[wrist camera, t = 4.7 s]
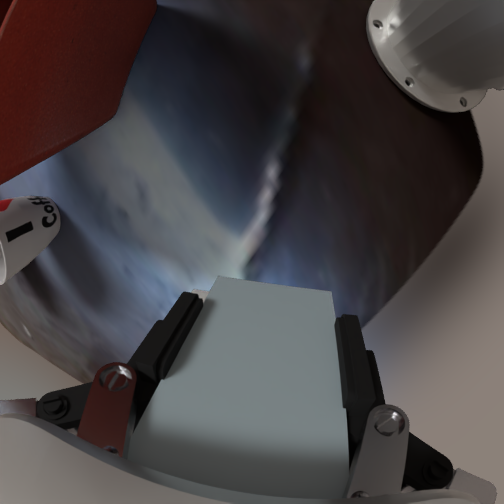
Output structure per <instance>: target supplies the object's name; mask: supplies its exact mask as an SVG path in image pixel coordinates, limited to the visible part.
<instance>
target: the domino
mask: <svg viewBox="0 0 504 504" xmlns="http://www.w3.org/2000/svg"><path fill="white" fill-rule="evenodd" d="M335 321H336V319H335V312H334V306H333V300H332V294H331V292H330V291H322V290H314V289H306V288H299V287H291V286H284V285H276V284H269V283H262V282H255V281H248V280H241V279H234V278H228V277H221V276H218V277H217V279H216V281H215V283H214V285H213V286H212V288H211V290H210V292H209V293H208V295H207V297H206V299H205V301H204V302H203V308H202V310H201V312H200V314H199V315H198V317H197V319H196V321H195V323H194V325H193V327H192V328H191V330H190V332H189V334H188V336H187V338H186V340H185V342H184V343H183V345H182V347H181V349H180V351H179V353H178V355H177V357H176V358H175V360H174V362H173V364H172V366H171V368H170V370H169V372H168V374H167V376H166V377H165V379H164V380H163V379H161V381H160V383H159V385H158V387H157V389H156V391H155V393H154V394H153V396H152V398H151V400H150V402H149V404H148V406H147V408H146V410H145V411H144V413H143V415H142V417H141V419H140V421H139V423H138V425H137V427H136V429H135V431H134V433H133V434H132V436H131V438H130V445H129V452H128V459H127V460H129V461H131V462H134V463H136V464H139V465H142V466H144V467H147V468H150V469H153V470H155V471H158V472H161V473H164V474H168V475H171V476H174V477H177V478H181V479H184V480H188V481H191V482H195V483H199V484H203V485H207V486H212V487H216V488H221V489H226V490H232V491H237V492H243V493H250V494H257V495H265V496H274V497H286V498H303V499H342V496H343V494H344V490H345V487H346V484H347V481H348V478H349V451H348V432H347V417H346V409H345V408H343V405H342V392H341V381H340V371H339V361H338V352H337V344H336V336H335V328H334V324H335Z"/></svg>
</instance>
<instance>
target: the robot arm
mask: <svg viewBox="0 0 504 504" xmlns="http://www.w3.org/2000/svg"><path fill="white" fill-rule="evenodd" d="M375 26H377V27H378V28H377V27H375ZM366 30H367V35H368V41H369V43H370V46H371V49H372V51H373V54H374V55H375V57H376V59H377V61H378V63H379V65H380V66H381V67H382V69H383V70H384V71H385V73H386V74H387V75H388V77H389V78H390V79H391V80H392V81H393V82H394V83H395V84H396V85H397V86H398V88H400V89H401V90H402V91H403V92H405V93H406V94H407V95H408V96H409V97H411V98H412V99H414V100H416V101H417V102H419V103H420V104H422V105H424V106H427V107H429V108H431V109H433V110H437V111H441V112H452V113H456V112H464V111H467V110H469V109H472V108H474V107H475V106H476V105H478V104H479V103H480V102H481V101H482V99H483V98H484V97H485V95H486V92H487V89H491V88H494V89H496V90H504V0H374V1H373V3H372V5H371V6H370V8H369V11H368V15H367V20H366ZM405 81H406V82H407V83H408V86H407V84H406V83H405ZM202 308H203V299H202V298H199V295H198V294H195V293H190V292H183V293H182V294H181V296H180V297H179V298H178V300H177V301H176V303H175V304H174V306H173V307H172V308H171V310H170V311H169V313H168V314H167V316H166V317H165V319H164V320H158V321H157V322H156V323H155V324H154V326H153V327H152V329H151V330H150V331H149V333H148V334H147V336H146V337H145V339H144V340H143V341H142V343H141V344H140V346H139V347H138V349H137V350H136V352H135V353H134V354H133V356H132V357H131V359H130V360H129V362H128V363H127V364H125V363H120V362H113V363H109V364H106V365H105V366H103V367H101V368H100V369H99V370H98V371H97V373H96V375H95V378H94V381H93V382H90V383H86V384H82V385H79V386H75V387H70V388H66V389H62V390H57V391H53V392H50V393H47V394H45V395H44V396H43V397H42V398H41V399H40V400H39V401H38V400H37V399H36V398H30V399H16V400H0V504H494V503H495V500H496V495H497V492H496V488H495V486H494V485H493V484H492V483H491V482H489V481H486V480H484V479H481V478H479V477H477V476H474V475H472V474H470V473H468V472H466V471H464V470H461V469H459V468H457V469H456V470H454V469H453V466H452V463H451V462H450V460H449V459H448V458H447V457H446V456H444V455H443V454H441V453H440V452H438V451H437V450H435V449H433V448H432V447H430V446H429V445H428V444H426V443H425V442H423V441H422V440H420V439H419V438H417V437H416V436H414V435H413V434H412V433H410V432H409V419H408V417H407V415H406V414H405V412H403V410H401V409H400V408H398V407H396V406H393V405H387V404H385V400H384V394H383V390H382V385H381V381H380V376H379V372H378V368H377V364H376V360H375V356H374V353H373V351H372V350H366V348H365V344H364V340H363V336H362V332H361V328H360V324H359V320H358V317H357V316H356V315H346V314H343V315H342V316H341V318H338V317H337V318H336V321H335V324H334V328H335V336H336V344H337V352H338V361H339V371H340V381H341V392H342V405H343V408H345V409H346V417H347V432H348V451H349V478H348V481H347V484H346V487H345V490H344V494H343V496H342V499H303V498H286V497H274V496H265V495H257V494H250V493H243V492H237V491H232V490H226V489H221V488H216V487H212V486H207V485H203V484H199V483H195V482H191V481H188V480H184V479H181V478H177V477H174V476H171V475H168V474H164V473H161V472H158V471H155V470H153V469H150V468H147V467H144V466H142V465H139V464H136V463H134V462H131V461H129V460H127V459H128V452H129V445H130V438H131V436H132V434H133V433H134V431H135V429H136V427H137V425H138V423H139V421H140V419H141V417H142V415H143V413H144V411H145V410H146V408H147V406H148V404H149V402H150V400H151V398H152V396H153V394H154V393H155V391H156V389H157V387H158V385H159V383H160V381H161V379H163V380H164V379H165V377H166V376H167V374H168V372H169V370H170V368H171V366H172V364H173V362H174V360H175V358H176V357H177V355H178V353H179V351H180V349H181V347H182V345H183V343H184V342H185V340H186V338H187V336H188V334H189V332H190V330H191V328H192V327H193V325H194V323H195V321H196V319H197V317H198V315H199V314H200V312H201V310H202Z"/></svg>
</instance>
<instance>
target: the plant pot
mask: <svg viewBox="0 0 504 504" xmlns="http://www.w3.org/2000/svg"><path fill="white" fill-rule="evenodd" d="M156 10H157V2H156V0H0V185H1V184H3V183H5V182H7V181H9V180H10V179H12V178H14V177H15V176H17V175H19V174H21V173H22V172H24V171H26V170H28V169H30V168H31V167H33V166H35V165H37V164H38V163H40V162H42V161H44V160H46V159H47V158H49V157H51V156H53V155H54V154H56V153H58V152H60V151H61V150H63V149H65V148H66V147H68V146H70V145H71V144H73V143H75V142H77V141H78V140H80V139H81V138H83V137H85V136H86V135H88V134H89V133H91V132H93V131H94V130H96V129H97V128H99V127H101V126H102V125H103V124H105V123H106V122H108V121H109V120H110V119H112V118H113V116H114V115H115V114H116V112H117V109H118V105H119V102H120V99H121V96H122V93H123V90H124V87H125V84H126V81H127V78H128V75H129V73H130V70H131V67H132V65H133V62H134V59H135V57H136V54H137V52H138V50H139V47H140V45H141V42H142V40H143V38H144V36H145V33H146V31H147V29H148V27H149V25H150V22H151V20H152V18H153V16H154V14H155V12H156Z"/></svg>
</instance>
